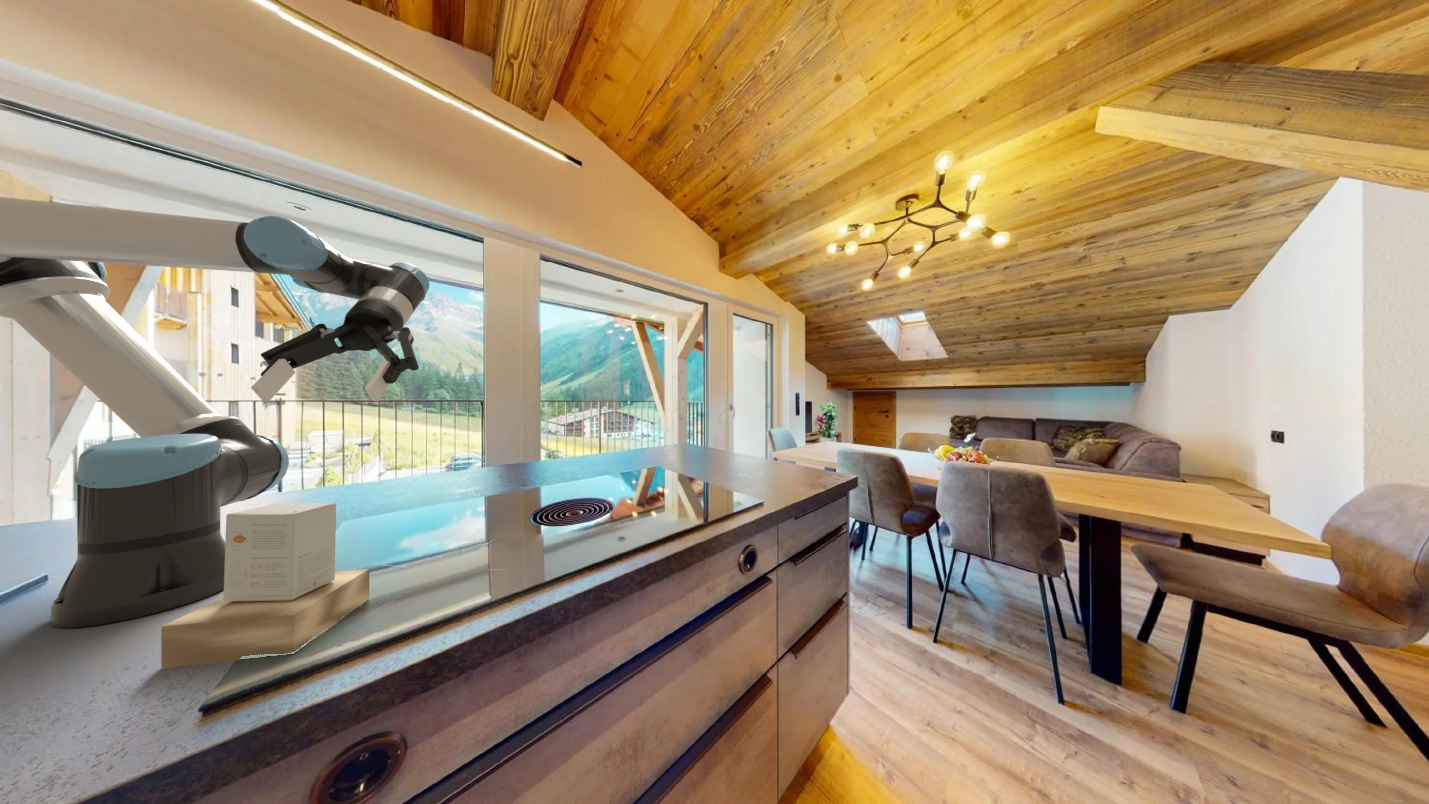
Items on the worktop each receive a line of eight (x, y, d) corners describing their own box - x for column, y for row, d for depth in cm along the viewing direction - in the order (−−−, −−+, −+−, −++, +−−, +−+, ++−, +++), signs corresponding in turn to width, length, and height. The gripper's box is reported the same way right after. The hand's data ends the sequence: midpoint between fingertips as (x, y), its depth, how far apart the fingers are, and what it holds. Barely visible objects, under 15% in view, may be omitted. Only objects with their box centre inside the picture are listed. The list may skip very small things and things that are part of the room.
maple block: (269, 611, 52) (269, 575, 52) (369, 603, 55) (369, 568, 55) (161, 672, 41) (161, 626, 41) (293, 658, 43) (294, 614, 43)
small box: (335, 581, 51) (339, 502, 51) (290, 601, 45) (294, 513, 46) (273, 581, 51) (277, 502, 51) (220, 602, 45) (225, 513, 45)
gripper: (461, 335, 76) (423, 411, 62) (309, 330, 71) (228, 412, 56) (449, 302, 71) (405, 376, 57) (285, 293, 65) (188, 374, 51)
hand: (317, 394), depth 56 cm, fingers open, 13 cm apart
